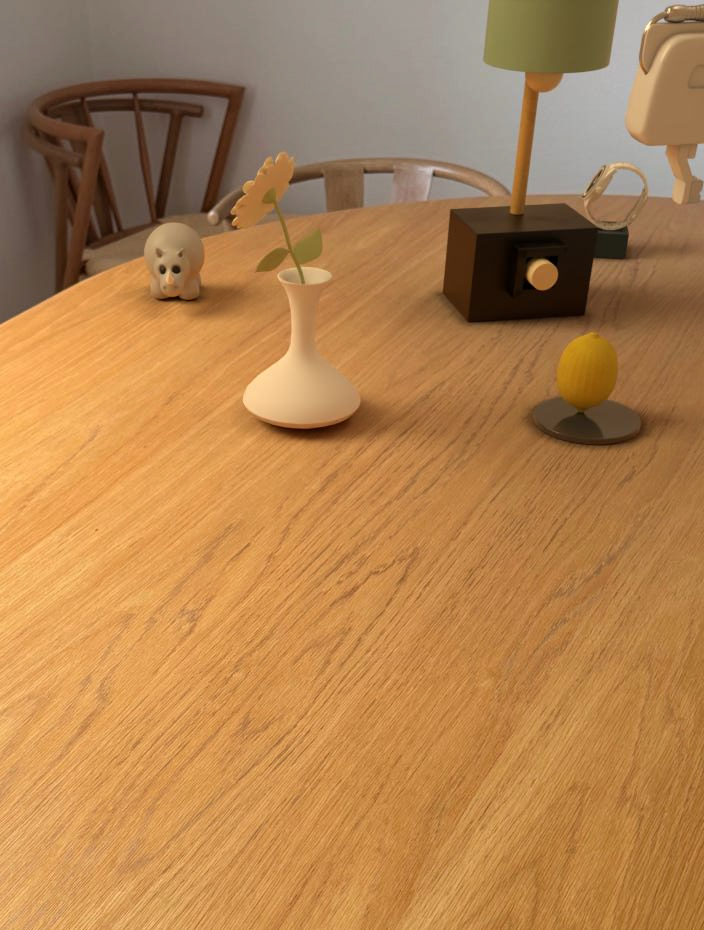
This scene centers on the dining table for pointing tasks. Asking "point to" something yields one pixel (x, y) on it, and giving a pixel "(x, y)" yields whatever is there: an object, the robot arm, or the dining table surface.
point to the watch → (610, 233)
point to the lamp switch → (541, 273)
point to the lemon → (587, 371)
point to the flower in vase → (294, 321)
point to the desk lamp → (528, 226)
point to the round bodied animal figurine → (174, 261)
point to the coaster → (587, 422)
